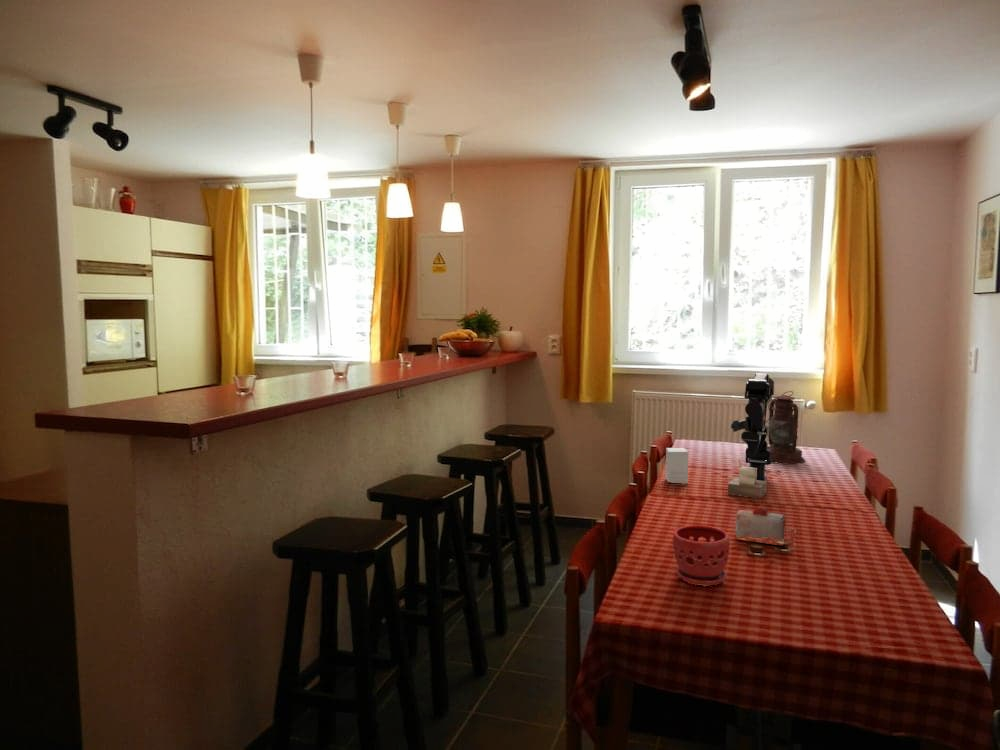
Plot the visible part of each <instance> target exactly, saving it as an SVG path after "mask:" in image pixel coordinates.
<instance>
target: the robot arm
mask: <svg viewBox="0 0 1000 750" xmlns="http://www.w3.org/2000/svg"><path fill="white" fill-rule="evenodd" d="M774 395H775V381H774V380H773V379H772V378H771V377H770V374H769V373H766V372H756V373H755V374H754V378H752V379H751V378H750V379H748V380H747V382H746V383H745V391H744V399H746V400H747V399H748V403H747V404H746V405H745V406H744V407H745V409H744V410H745V411H744V412H745V413H746V417H745V419H741V420H738V419H737V420H733V421H732V423H731V424H730V428H731V429H732V431H733V433H735V432H738V431H741V430H744V431H743V432H741V435H740V439H741V440H742V441H743V442H744V443H745V444H746V446H747V447H746V448H745V464H749V467H751V468H757V479H756V480H761V481H764V480H765V481H766V480H767V478H768V476H766V465H767V466H770V465H772V463H771V453H770V451H769V449H768V446H769V445H768V443H767V440H766V439H767V437H768V434H769V428H768V427H769V426H768V425H766V424H767V422H766V421H767V412H768V411H767V410H768V406H769V404H770V402H771V401H772V400H773V396H774ZM765 460H767V461H765Z"/></svg>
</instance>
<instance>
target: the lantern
mask: <svg viewBox="0 0 1000 750" xmlns="http://www.w3.org/2000/svg"><path fill="white" fill-rule="evenodd" d="M786 393H791V394H790V395H786ZM793 395H794V392H793V391H791V390H790V391H786V392H783V393H782V394H781V395H777V396H773V398H772V400H771V402H770V403H769V404H768V406H769V407H768V413H769V414H768V415H769V416H768V419H766V423H767V425H768V426H767V427H768V428H769V433H768V435H767V437H768V444H769V445H767V446H768V449H769V451H770V453H771V462H777V463H776V464H778V463H787V464H786V465H797V464H796V463H801V464H804V463H805V462H806V460H805V458H804V457H802V456H803V451H802V450H801V449H800V448H797V441H798V428H799V407H798V405H797V404H796V403H795V402H794V400H796V397H792V396H793ZM803 462H804V463H803Z"/></svg>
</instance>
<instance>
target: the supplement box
mask: <svg viewBox="0 0 1000 750" xmlns="http://www.w3.org/2000/svg"><path fill="white" fill-rule="evenodd" d="M688 472H689V451H688V450H687V449H686V447H683V448H682V447H665V480H666V479H667V481H668V482H672V483H688V479H689V475H688V474H689V473H688ZM667 481H666V482H667ZM668 482H667V483H668Z"/></svg>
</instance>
